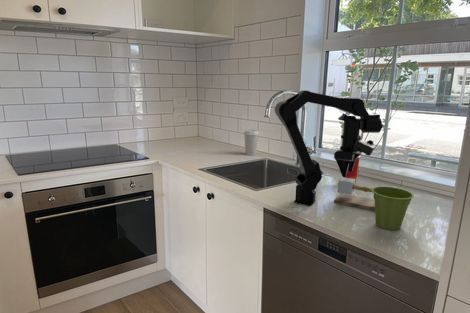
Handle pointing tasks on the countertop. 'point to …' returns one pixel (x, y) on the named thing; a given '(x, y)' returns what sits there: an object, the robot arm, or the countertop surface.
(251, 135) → the coffee cup
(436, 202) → the countertop surface
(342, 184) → the white cube with hole
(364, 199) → the cord clamp board
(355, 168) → the paper cup
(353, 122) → the robot arm
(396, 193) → the plant pot
